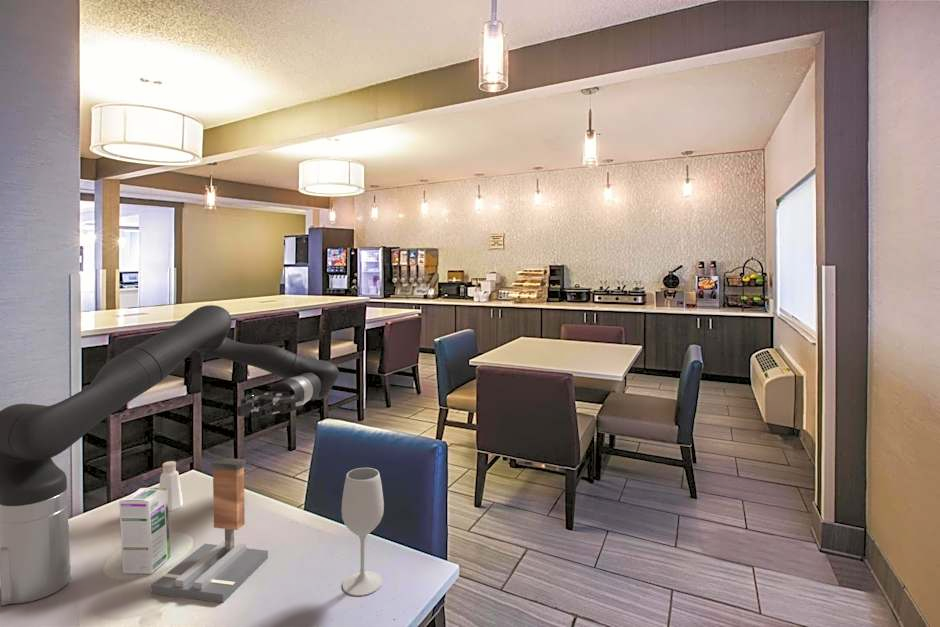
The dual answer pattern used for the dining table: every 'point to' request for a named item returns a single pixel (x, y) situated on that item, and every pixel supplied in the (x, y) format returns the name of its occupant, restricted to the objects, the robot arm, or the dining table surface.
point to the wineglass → (362, 522)
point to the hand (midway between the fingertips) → (249, 412)
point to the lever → (228, 497)
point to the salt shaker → (171, 485)
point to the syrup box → (144, 530)
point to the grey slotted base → (210, 572)
